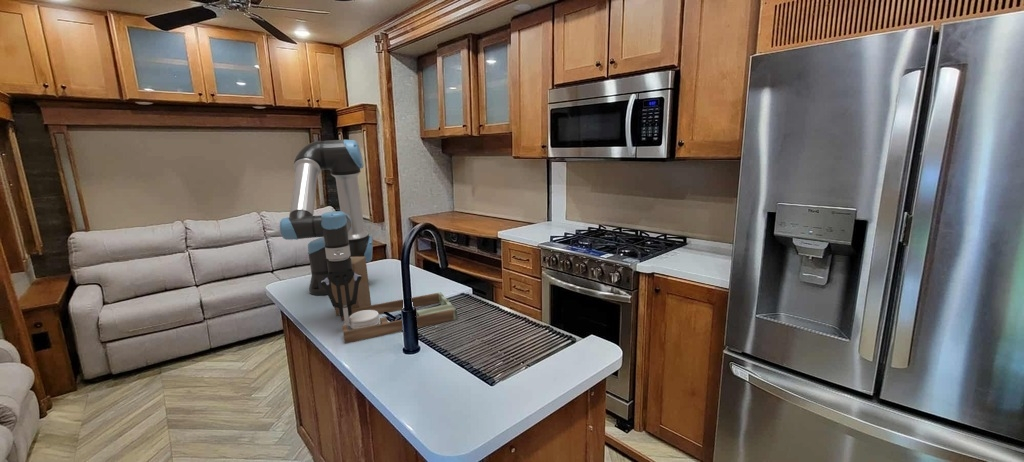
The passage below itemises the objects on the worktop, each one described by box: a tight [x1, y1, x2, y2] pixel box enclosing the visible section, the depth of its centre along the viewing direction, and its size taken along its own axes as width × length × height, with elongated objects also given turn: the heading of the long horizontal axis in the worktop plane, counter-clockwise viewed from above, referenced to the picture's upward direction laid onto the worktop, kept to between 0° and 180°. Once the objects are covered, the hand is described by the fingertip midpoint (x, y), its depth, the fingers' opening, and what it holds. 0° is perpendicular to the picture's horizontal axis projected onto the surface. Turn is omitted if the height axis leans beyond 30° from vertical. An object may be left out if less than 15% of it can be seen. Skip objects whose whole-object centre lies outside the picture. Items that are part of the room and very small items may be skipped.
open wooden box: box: [340, 292, 458, 344], centre depth 151 cm, size 21×37×4 cm, turn 115°
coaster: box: [349, 310, 380, 330], centre depth 149 cm, size 10×10×4 cm
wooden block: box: [331, 257, 372, 316], centre depth 161 cm, size 10×10×20 cm
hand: (347, 324), depth 146 cm, fingers closed
